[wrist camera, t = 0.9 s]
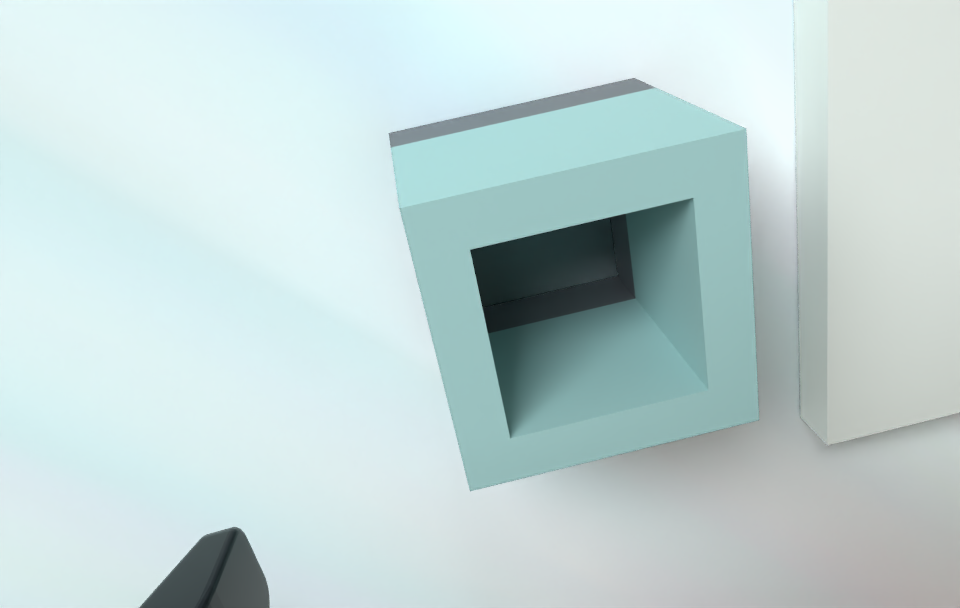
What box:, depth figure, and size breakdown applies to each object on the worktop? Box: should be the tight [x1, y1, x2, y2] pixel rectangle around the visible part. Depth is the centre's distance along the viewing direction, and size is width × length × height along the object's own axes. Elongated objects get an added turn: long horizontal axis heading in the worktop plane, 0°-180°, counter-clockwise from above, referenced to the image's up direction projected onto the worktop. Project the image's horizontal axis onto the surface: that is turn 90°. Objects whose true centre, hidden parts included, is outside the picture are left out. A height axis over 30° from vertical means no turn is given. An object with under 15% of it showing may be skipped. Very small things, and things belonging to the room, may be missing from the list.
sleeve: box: [389, 78, 759, 491], centre depth 17 cm, size 6×6×6 cm
